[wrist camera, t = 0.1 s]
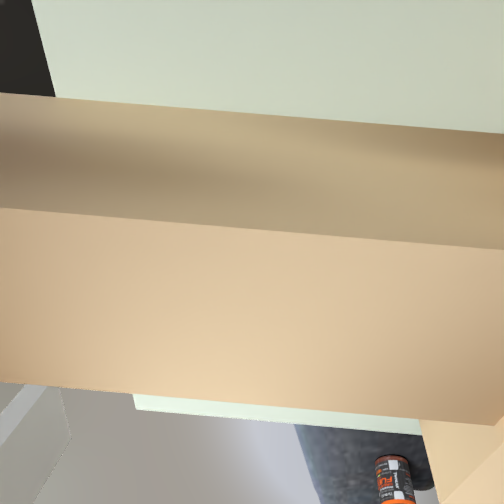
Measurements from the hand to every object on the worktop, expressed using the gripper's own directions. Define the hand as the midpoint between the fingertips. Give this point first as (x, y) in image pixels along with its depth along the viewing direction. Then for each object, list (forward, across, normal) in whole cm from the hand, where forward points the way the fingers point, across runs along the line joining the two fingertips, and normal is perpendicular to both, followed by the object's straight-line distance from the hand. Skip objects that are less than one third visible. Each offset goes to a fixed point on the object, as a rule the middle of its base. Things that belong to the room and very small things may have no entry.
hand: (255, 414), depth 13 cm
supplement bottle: (+48, +21, -56) cm, 77 cm away
